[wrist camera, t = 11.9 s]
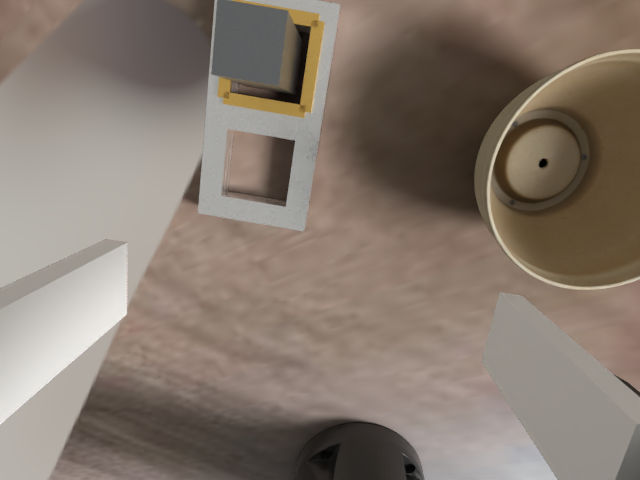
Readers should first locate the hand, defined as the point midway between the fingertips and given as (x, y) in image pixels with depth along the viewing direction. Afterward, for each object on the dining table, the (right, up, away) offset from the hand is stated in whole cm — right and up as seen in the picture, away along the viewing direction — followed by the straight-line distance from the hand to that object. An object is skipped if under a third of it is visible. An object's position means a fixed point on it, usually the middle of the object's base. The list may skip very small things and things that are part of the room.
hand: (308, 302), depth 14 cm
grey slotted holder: (-4, +14, +23) cm, 27 cm away
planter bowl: (+20, +9, +24) cm, 32 cm away
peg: (-4, +18, +22) cm, 28 cm away
